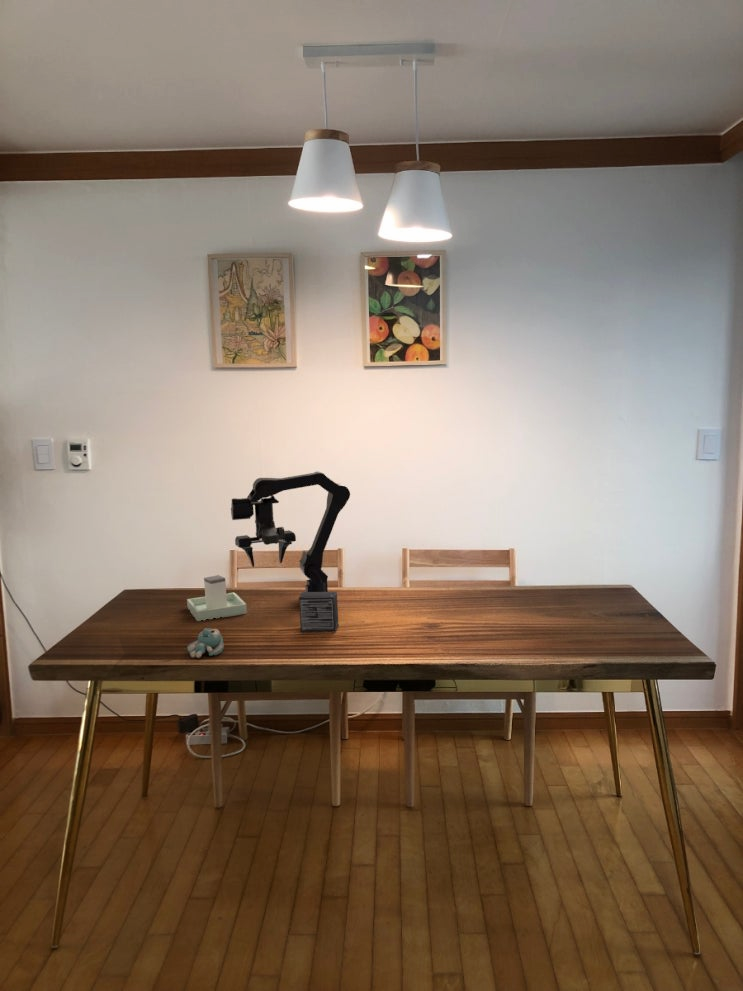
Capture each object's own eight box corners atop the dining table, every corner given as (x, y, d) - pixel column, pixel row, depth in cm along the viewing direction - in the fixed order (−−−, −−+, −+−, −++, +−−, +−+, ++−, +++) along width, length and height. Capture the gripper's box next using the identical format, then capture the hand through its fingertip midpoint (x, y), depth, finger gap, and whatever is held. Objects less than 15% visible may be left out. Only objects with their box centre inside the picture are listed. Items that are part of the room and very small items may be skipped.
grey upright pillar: (220, 605, 258) (218, 575, 257) (227, 608, 254) (225, 578, 253) (206, 608, 256) (204, 577, 254) (212, 611, 252) (210, 580, 250)
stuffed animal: (174, 640, 212) (196, 618, 223) (178, 664, 214) (200, 641, 225) (210, 643, 209) (230, 621, 219) (214, 667, 211) (234, 644, 222)
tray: (235, 601, 265) (234, 592, 265) (247, 613, 251) (246, 604, 251) (187, 608, 259) (187, 599, 259) (197, 621, 245) (196, 611, 245)
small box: (339, 625, 237) (337, 590, 235) (336, 632, 230) (334, 597, 229) (304, 625, 238) (302, 591, 236) (300, 632, 231) (298, 597, 230)
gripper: (242, 524, 245) (245, 574, 248) (300, 518, 253) (302, 566, 255) (233, 519, 256) (236, 566, 258) (289, 513, 263) (291, 559, 265)
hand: (267, 564), depth 259 cm, fingers open, 9 cm apart
